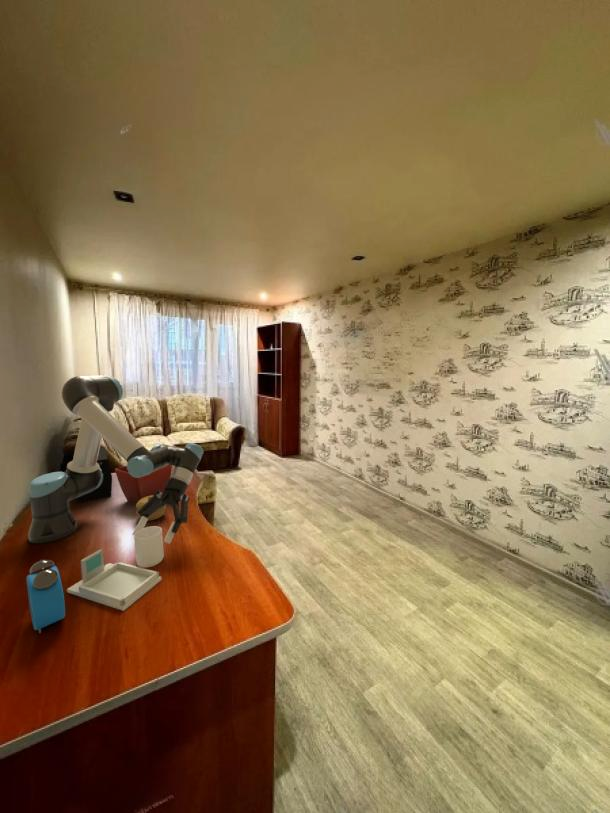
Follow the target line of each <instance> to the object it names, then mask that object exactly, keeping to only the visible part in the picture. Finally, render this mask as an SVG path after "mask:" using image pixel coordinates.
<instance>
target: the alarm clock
mask: <svg viewBox="0 0 610 813" xmlns="http://www.w3.org/2000/svg"><path fill="white" fill-rule="evenodd" d="M60 574H61V573H60V571H59V569H58V567H57V566H56V565H55V562H54V561H53V560H51V559H40V560H39V561H37V562H35V563H33V565H32V566H30V568H29V574H28V575H26V586H27V588H26V589H27V595H28V596H27V597H28V603H29V609H30V616H31V622H32V626H33V629H34V631H38V633H39V634H41V633H42V629H43V628H45V627H47V626H50V625H53V624H54V623H57V622H59V621H61V620H63V619H64V618H65V616H66V605H65V604H66V602H65V601H66V599H65V595H64V589H63V588H64V587H63V584H62V579H61V575H60Z"/></svg>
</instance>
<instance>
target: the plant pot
mask: <svg viewBox="0 0 610 813" xmlns="http://www.w3.org/2000/svg"><path fill="white" fill-rule="evenodd" d="M172 468H173V466H171V465H167V466H165V467H163V468H160V469H158V470H156V471H154V472H152V473H150V474H149V475H146V476H143V477H140V478H135V477H133V476H131V475H130V474H129V473H128V470H127V465H125V466H121V467H117V468H115V469H114V471H115V475H116V478H117V481H118V484H119V486H120V489H121V491H122V493H123V495H124V497H125V499H126V501H127V502H130V503H133V504H135V505H136V504H137V503H138V501H139V500H141V499H142V498H144V497H147V496H151V495H154V494H155V492H156V491H160V492H162V493H163V492H164V491H165V486H166V484H167V482H168V480H169V479H170V476H171V474H172V471H173V469H172Z"/></svg>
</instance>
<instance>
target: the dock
mask: <svg viewBox="0 0 610 813" xmlns="http://www.w3.org/2000/svg"><path fill="white" fill-rule="evenodd" d="M103 552H104V551H103V549H98V550H96V551H94V552H93V553H91V554H89V555H88V556H86V557H84V558H82V559H80V567H81V569H80V570H81V577H82V579H81V580H79V581H78V582H76V583H74V584H73V585H71V586H70V587H68V588H66V592H67V593H68V594H71V595H74V596H76V597H80V598H83V599H86V600H89V601H92V602H95V603H98V604H101V605H104V606H107V607H111V608H114V609H116V610H121V611H122V612H124V611H125V610H127V609H128V608H129V607H130V606H132V605H133V604H134V603H135V602H136V601H138V600H139V599H140V598H141V597H142V596H144V595H145V594H146V593H147V592H149V591H150V590H152V589H153V587H155V586H156V585H157V584H158V583H160V582H161V581H162V579H163V578H162V576H160V574H159V573H160V572H159V571H156V570H151V569H147V568H142V567H139V566H138V565H137V566H136V565H134V564H133V565H132V564H129V563H125V562H121V561H117V562H115V563H111V562H109V563H106V564H104V553H103Z"/></svg>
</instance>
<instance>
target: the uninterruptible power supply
mask: <svg viewBox="0 0 610 813" xmlns="http://www.w3.org/2000/svg"><path fill="white" fill-rule="evenodd" d="M97 463H98V464H99V466H100V468H101V470H102V472H101V473H103V481H102V483H101V485H100V486H99V487H98V488H97V489H95V490H93V491H92V492H90V493H87V494H85V495H82V496H80V497H78V498H75V499H76V502H77V504H81V503H82V504H83V503H86V502H90V501H96V500H102V499H106V498H111V497H112V489H113V488H112V487H113V484H112V483H113V475H112V471H111V468H110V467H111V466H110V462H109V459H108V454H107V451H106V448H105V446H104V447H103V446H102V447H100V449H99V454H98V458H97Z"/></svg>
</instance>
